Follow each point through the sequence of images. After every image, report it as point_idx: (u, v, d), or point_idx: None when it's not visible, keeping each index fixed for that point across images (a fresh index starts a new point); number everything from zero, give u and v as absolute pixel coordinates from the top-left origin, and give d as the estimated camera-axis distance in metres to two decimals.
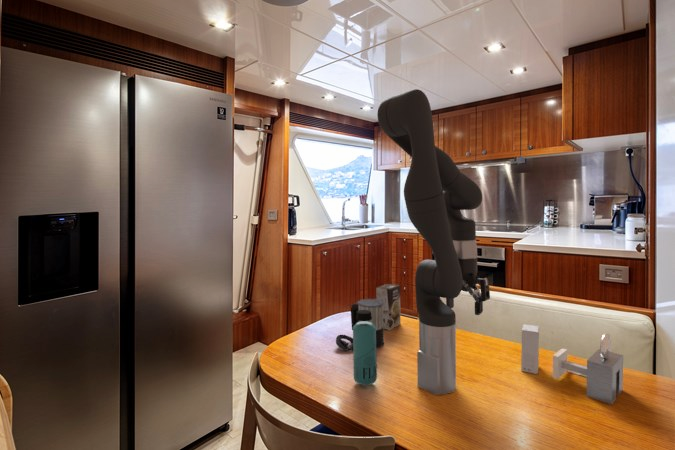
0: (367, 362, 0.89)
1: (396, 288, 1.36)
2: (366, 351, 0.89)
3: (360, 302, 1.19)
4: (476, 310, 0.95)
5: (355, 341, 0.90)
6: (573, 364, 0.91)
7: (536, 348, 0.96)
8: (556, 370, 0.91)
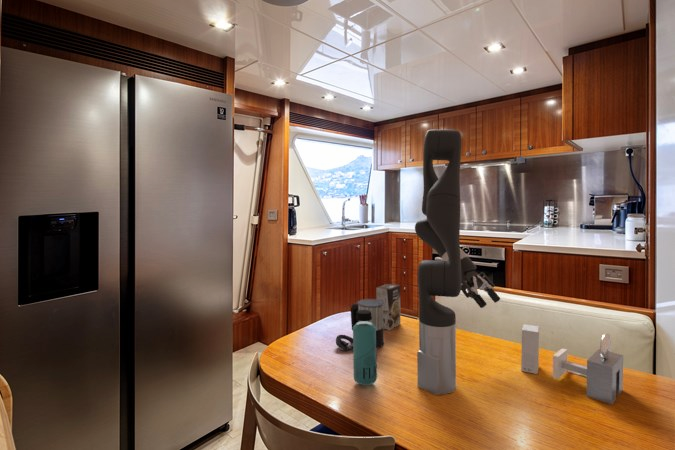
0: (367, 362, 0.89)
1: (396, 288, 1.36)
2: (366, 351, 0.89)
3: (360, 302, 1.19)
4: (497, 295, 1.10)
5: (355, 341, 0.90)
6: (573, 364, 0.91)
7: (536, 348, 0.96)
8: (556, 370, 0.91)
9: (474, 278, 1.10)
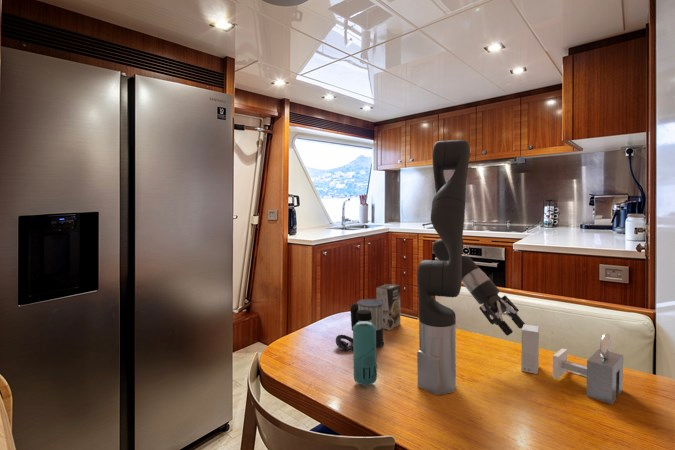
0: (367, 362, 0.89)
1: (396, 288, 1.36)
2: (366, 351, 0.89)
3: (360, 302, 1.19)
4: (522, 321, 1.05)
5: (355, 341, 0.90)
6: (573, 364, 0.91)
7: (536, 348, 0.96)
8: (556, 370, 0.91)
9: (497, 303, 1.04)
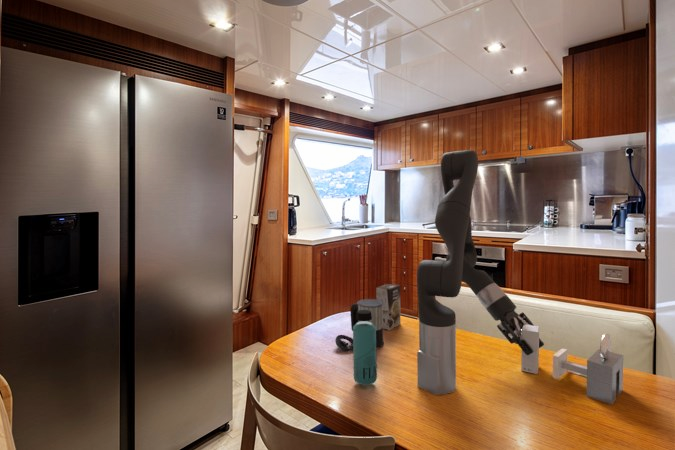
0: (367, 362, 0.89)
1: (396, 288, 1.36)
2: (366, 351, 0.89)
3: (360, 302, 1.19)
4: (540, 340, 1.00)
5: (355, 341, 0.90)
6: (573, 364, 0.91)
7: (536, 348, 0.96)
8: (556, 370, 0.91)
9: (515, 320, 1.00)
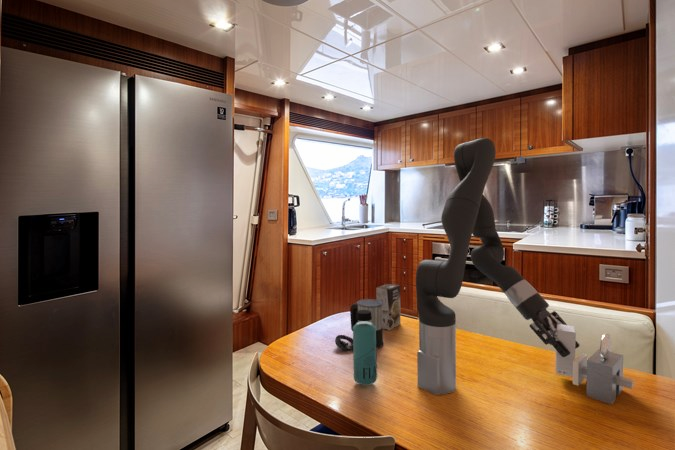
0: (367, 362, 0.89)
1: (396, 288, 1.36)
2: (366, 351, 0.89)
3: (359, 302, 1.19)
4: None
5: (355, 341, 0.90)
6: None
7: (573, 349, 0.89)
8: (576, 376, 0.87)
9: (549, 319, 0.93)
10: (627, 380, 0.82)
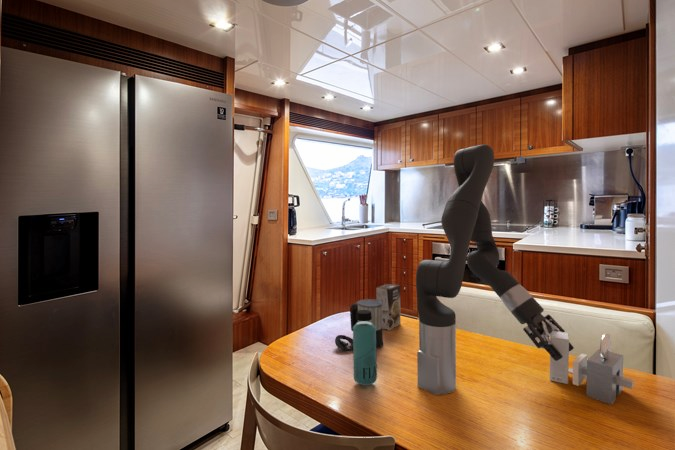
0: (367, 362, 0.89)
1: (396, 288, 1.36)
2: (366, 351, 0.89)
3: (359, 302, 1.19)
4: (570, 343, 0.95)
5: (355, 341, 0.90)
6: None
7: (566, 356, 0.90)
8: (576, 376, 0.87)
9: (543, 324, 0.94)
10: (627, 380, 0.82)
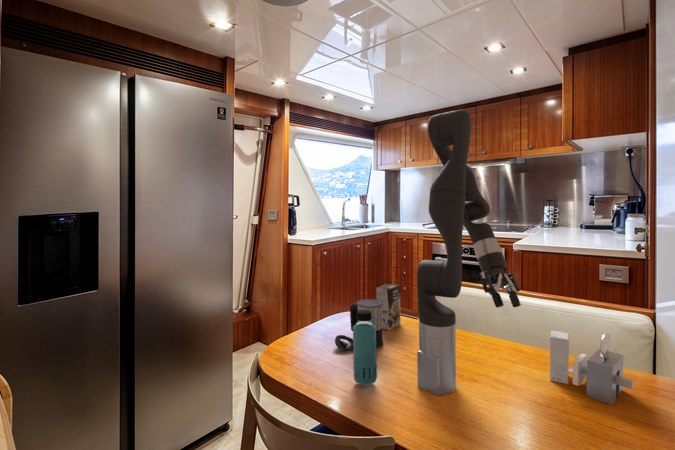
0: (367, 362, 0.89)
1: (396, 288, 1.36)
2: (366, 351, 0.89)
3: (359, 302, 1.19)
4: (518, 301, 1.02)
5: (355, 341, 0.90)
6: None
7: (566, 356, 0.90)
8: (576, 376, 0.87)
9: (500, 275, 1.02)
10: (627, 380, 0.82)
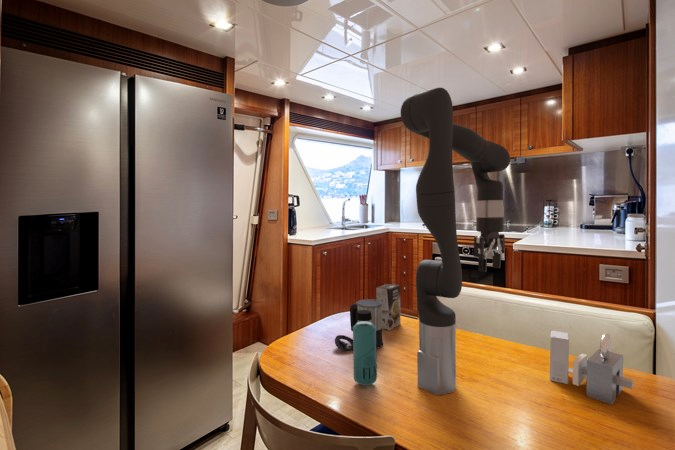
0: (367, 362, 0.89)
1: (396, 288, 1.36)
2: (366, 351, 0.89)
3: (359, 302, 1.19)
4: (500, 263, 1.05)
5: (355, 341, 0.90)
6: None
7: (566, 356, 0.90)
8: (576, 376, 0.87)
9: (493, 241, 1.00)
10: (627, 380, 0.82)
